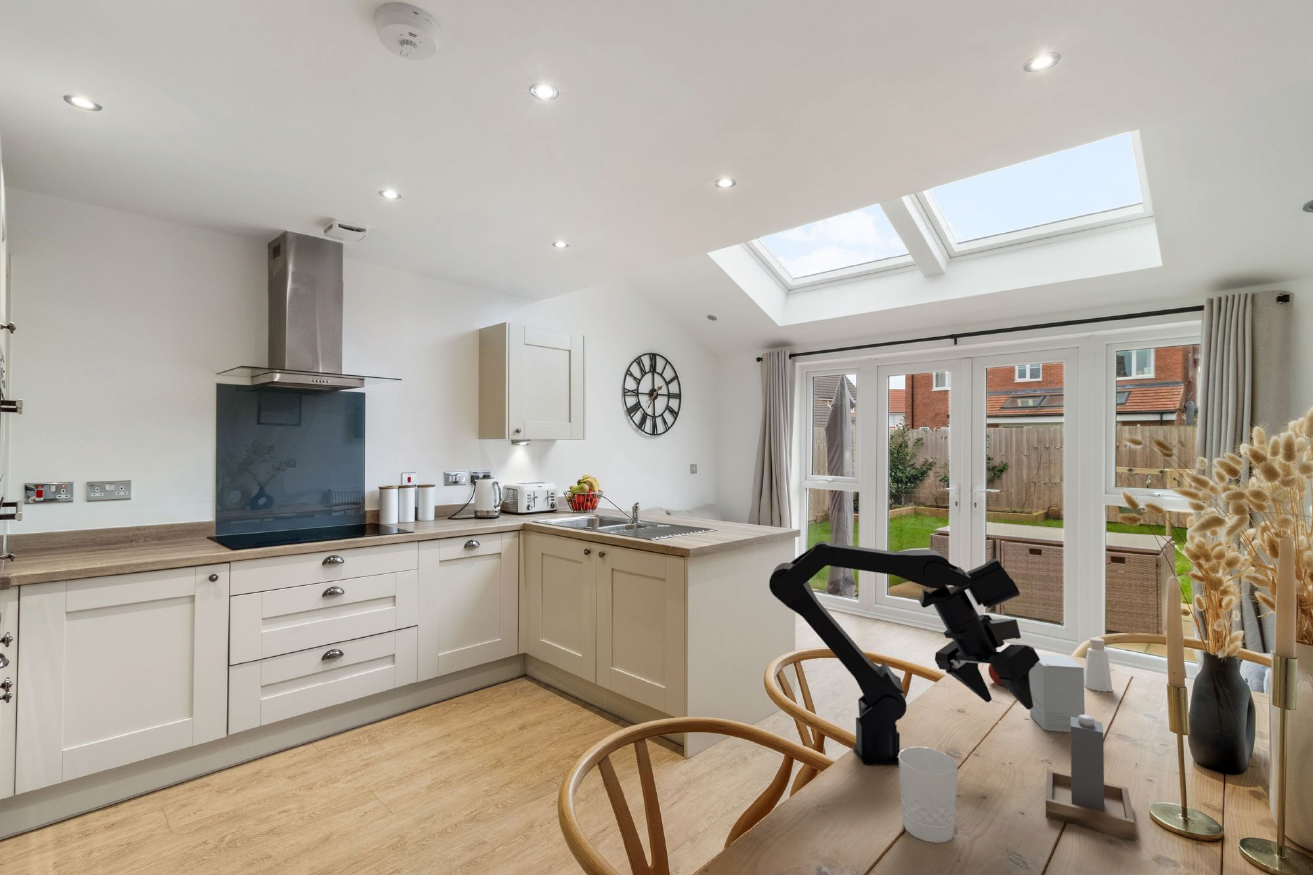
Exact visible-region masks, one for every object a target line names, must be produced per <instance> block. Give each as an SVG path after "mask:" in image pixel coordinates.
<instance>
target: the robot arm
mask: <svg viewBox="0 0 1313 875" xmlns="http://www.w3.org/2000/svg"><path fill="white" fill-rule="evenodd" d="M825 567H835V568H844V569H850V570H856V571H857V570H858V571H863V572H869V573H870V572H871V573H872V572H873V573H876V574H884V575H892V576H895V577H898V578H902V579H904V580H906V581H909V582H911V583H913V584H918V585H920V586H923V587H927V588H930V589H932V590H928V589H925V588H922V590H921V595H920V598H919V604H920V606H921V607H922V608H924V609H925V608H927V607H930V606H932V605H933V607H934V608H935V610H936V612H937V614H938V616H939V617H940V619H941V621H942V623H943V624H944V627H945V628H946V630H945V631H944V632H943V634H944V636H945V638H946V639H952V641H950V642H949V643H947V644H946V645H945V646H943V647H942V648H941V649H939V650H938V651H936V652H935V655H934V662H935V663H936V665H937V667H938V669H939V670H943V671H945V673H946V674H947V675H948V674H949V675H950V676H952V677H954V679H955V680H957V681H958V682H960V683H961V684H963V685H964V686H965V687H966V688H968V689H969V690H970V691H972V692H973V693H974V694H976V695H977V696H978V697H979V698H980V699H982V700H983V701H984V702H986V703H990V702H991V701H992V700H993V698H992V696H991V693H990V690H989V688H988V686H987V684H986V682H985V679H984V678H983V675H982V674H981V672H980V669H979V664H989V665H990V664H992V668H993V669H994V671H995V672H996V673H997V674H998V675H999V676H1000V677H999V678H998V679H999V680H1000V681H1001V682H1002V684H1003V685H1004V686H1003V687H1004V688H1006V689H1007V691H1009V692H1010V693H1011V694H1012V695H1013V697H1014V698H1015V699H1016V700H1017V701H1018V702H1019V703H1020V704H1021V705H1022V706H1023V707H1024V708H1025V709H1026V710H1029V711H1030V709H1031V708H1033V701H1032V696H1031V690H1030V684H1029V672H1030V669H1032V668H1033V667H1034V666H1035V664H1036V663H1037V662H1038V661H1040V658H1039V656H1038V655H1037V654H1038V653H1037V651H1036V650H1035V648H1034V647H1033V646H1030V645H1026V644H1015V643H1014V644H1013V643H1011V644H1009V645H1008V646H1006V647H1005V648H1004V649H1002V650H1001V651H998V650H997V649H998V648H1001V647H1003V646H1004V645H1005V642H1004V641H1006V640H1007V641H1008V640H1013V639H1016V640H1018V639H1021V638H1022V635H1021V633H1020V628H1019V625H1018V620H1017V618H995V619H994V618H992V617H991V616H990V615H989V614H978V611H977V610H976V607H975V606H974V604H973V603H972V601H971V599H970V597H969V596H968V594H967V592H966V590H968V592H969V594H970V595H971V597H972V599H973V600H974V601H975V603H976V605H977V606H979V607H980V606H981V605H982V606H983V608H985V607H986V608H987V609H988V610H989V609H991V608H994V607H997V606H999V605H1001V604H1003V603H1005V602H1008V601H1010V600H1012V599H1015V598H1017V597H1020V596H1021V592H1020V590H1019V589H1018V586H1017V585H1016V582H1015V581H1014V580H1013V578H1012V577H1011V576H1010V575H1009V574H1008V572H1007V571H1006V570H1005V568H1004V567H1003V566H1002V564H1001V562H1000V561H999V560H998V558H997V559H996V558H993V559H990V560H988V561H987V562H986V563H984V564H982V565H979V566H978V567H975V568H973V569H970V570H968V571H965V570H964V569H963V568H962V567H960V566H959V567H958V566H956V565H954V564H952V563H950V562H949V561H948V559H947V558H946V557H945V556H944V555H943V554H942V553H941V552H939V551H938V550H936V549H929V548H926V549H925V548H924V549H908V550H907V549H906V550H899V551H897V550H896V551H890V550H885V549H883V550H882V549H878V548H877V549H875V548H870V547H863V546H862V547H861V546H855V545H848V544H847V545H846V544H841V543H840V544H839V543H832V542H828V541H826V540H819V541H817V542H815V543H814V544H813V546H812V547H810V548H809V549H808V550H806V551H804V553H802V554H800V555H799V556H797V557H796V558H795V559H793V560H792V561H790V562H782V563H780V564H778V565H777V566H776V567H775V568H774V569H773V571H772V573H771V575H770V577H769V581H768V582H769V583H768V585H769V586H768V587H769V591H770V592H771V594H772V595H773V596H774V597H775V598H777V600H779V601H780V602H781V603H782V604H783V605H785V606H786V607H787V608H788V609H790V610H792V611H793V612H795V613H796V614H797V615H799V616H801V618H802V619H803V620H804V621H806V623H807V624H808V625H809V626H810V628H811V629H812V630H813V631H814V632H815V634H817V636H818V637H819V638H820V639H821V640H822V642H823V643H824V644H825V645H826V646H827V647H828V649H829V650H830V651H831V652H832V653H833V655H834V656H835V657H836V659H838V660H839V662H841V664H842V665H843V666H844V667H845V669H846V670H847V671H848V672H849V673H850V674H851V675H852V677H854V679H855V681H856V682H857V685H858V686H859V688H860V690H861V693H862V694H863V695H861V696H860V697H859V698H858V700H857V702H858V703H857V704H858V705H857V706H858V715H859V716H858V717H855V744H853V745H852V749H853V750H854V752H855V753H856V755H857V756H858V758H859V759H860V761H861V762H862V764H863V765H865V766H881V765H882V766H885V765H887V766H888V765H891V766H893V765H894V766H896V765H897V766H899V760H898V754H899V752H900V751H901V750H900V748H901V743H900V740H901V739H900V732H899V731H898V729H897V728H898V725H897V724H896V723H897V721H898V720H901V719H902V718H903V717H904V716H905V714H906V712H907V706H908V705H907V702H906V697H905V691H904V686H903V683H902V679H901V677H899V676H898V675H896V674H895V673H894V672H893V671H892V670H891V668H890V666H889V665H888V663H887V662H886V661H884V662H883V663H882V664H881V665H880V666H879V665H878V664H877V663H875V662H873V661H871V660H870V658H868V656H867V655H866V654H865V653H864V651H863V650H862V649H861V648H860V647H859V646H858V644H856V643H855V641H854V640H853V639H852V638H851V636H850V635H849V634H848V633H847V632H846V631H845V630H844V629H843V627H842V626H841V625H840V624H839V623H838V622H837V621H836V619H835V618H834V617H833V616H832V615H831V614H830V613H829V611H828V610H827V609H826V608H825V607H824V605H823V604H822V603H821V602H820V601H819V600H818V597H817V596H816V594H815V592H814V591H813V588H812V586H811V585H810V583H809V581H810V580H811V579H812V578H814V576H816V575H817V574H818V573H819V572H820V571H821V570H822V569H824V568H825ZM947 586H949V587H947Z"/></svg>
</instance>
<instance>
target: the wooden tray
mask: <svg viewBox="0 0 1313 875" xmlns="http://www.w3.org/2000/svg"><path fill="white" fill-rule="evenodd" d="M1045 779H1046V782H1045V818H1049V819H1052V820H1056V821H1060V822H1062V823H1067V824H1071V825H1074V826H1079V827H1082V828H1085V829H1090V830H1093V831H1097V832H1101V833H1105V834H1108V835H1112V836H1115V837H1118V838H1119V837H1120V838H1123V839H1127V840H1130V841H1136V829H1135V828H1136V822H1135V818H1134V813H1133V807H1132V803H1131V797H1130V793H1129V787H1127V786H1122V785H1119V784H1114V783H1111V782H1110V783H1109V782H1106V781H1104V812H1101V811H1097V810H1093V809H1089V808H1085V807H1081V806H1077V805H1073V804H1072V795H1071V773H1067V772H1066V773H1065V772H1061V771H1057V770H1055V769H1054V770H1053V769H1049V768H1046V778H1045Z"/></svg>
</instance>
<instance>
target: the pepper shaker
mask: <svg viewBox="0 0 1313 875" xmlns="http://www.w3.org/2000/svg"><path fill="white" fill-rule="evenodd" d="M1105 642H1106V641H1105V639H1103V638H1101V637H1090V638H1089V645H1090V647H1088V648H1087V650H1086V659H1085V667H1084V688H1086V687H1087V688H1086V689H1089V690H1091V689H1092V691H1094V690H1098V691H1097V692H1100V691H1103V692H1104V693H1108V692H1107V691H1109V692H1111V691H1110V690H1112V691H1113V684H1112V676H1111V670H1110V669H1111V668H1110V663H1109V655H1108V651H1107V650H1105V647H1106V646H1105ZM1103 692H1102V693H1103Z"/></svg>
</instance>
